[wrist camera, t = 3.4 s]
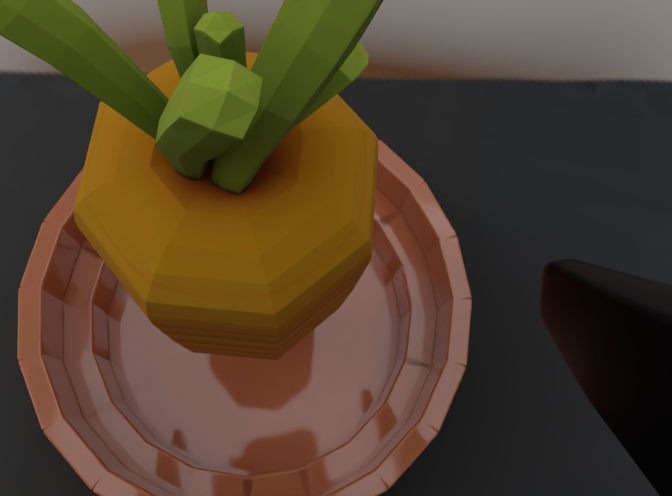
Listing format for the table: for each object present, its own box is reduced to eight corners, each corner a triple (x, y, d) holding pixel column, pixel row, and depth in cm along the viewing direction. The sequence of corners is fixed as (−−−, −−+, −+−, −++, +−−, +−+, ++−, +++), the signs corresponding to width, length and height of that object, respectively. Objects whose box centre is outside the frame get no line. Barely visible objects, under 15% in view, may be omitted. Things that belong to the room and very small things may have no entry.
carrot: (148, 349, 18) (-311, 9, 4) (229, 221, 20) (106, -343, 6) (287, 425, 18) (321, 343, 4) (358, 288, 19) (569, -134, 5)
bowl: (510, 324, 20) (556, 300, 17) (243, 621, 16) (234, 665, 13) (268, 95, 22) (266, 33, 19) (-16, 314, 18) (-81, 285, 15)
